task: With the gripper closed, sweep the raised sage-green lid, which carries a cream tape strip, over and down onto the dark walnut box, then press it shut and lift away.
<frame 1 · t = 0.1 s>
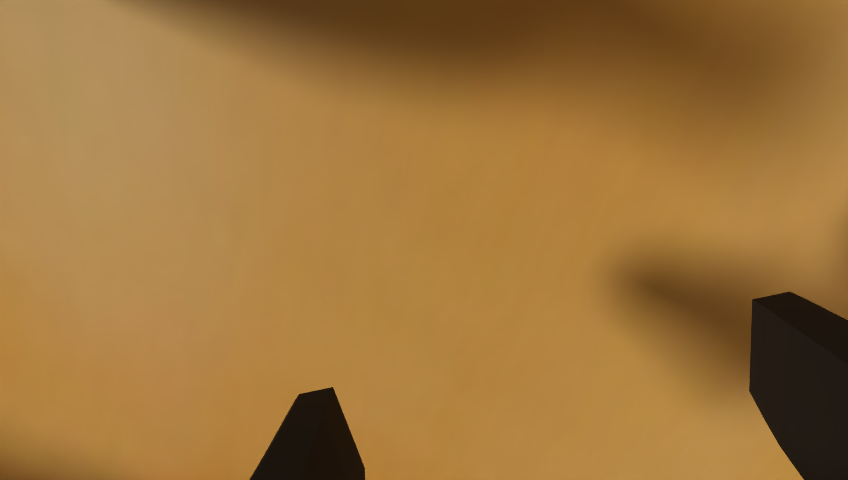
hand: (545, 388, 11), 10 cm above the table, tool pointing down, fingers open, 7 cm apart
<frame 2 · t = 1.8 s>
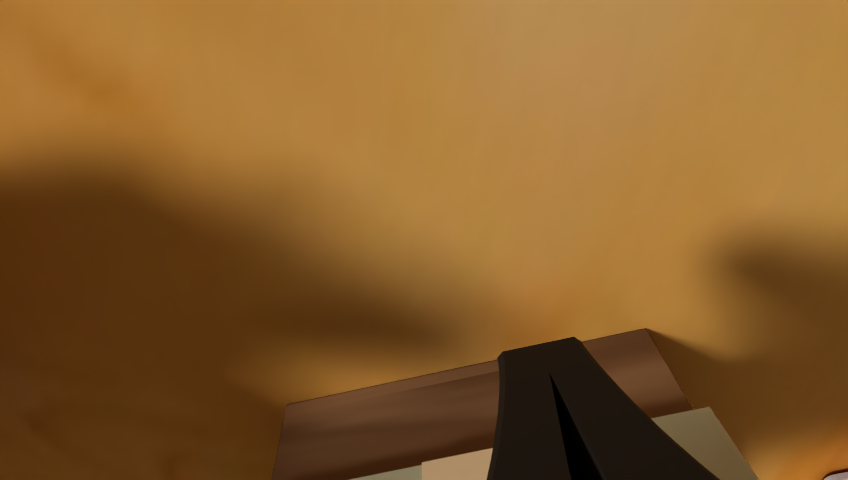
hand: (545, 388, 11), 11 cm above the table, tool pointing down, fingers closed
walnut box: (486, 457, 26), on the table
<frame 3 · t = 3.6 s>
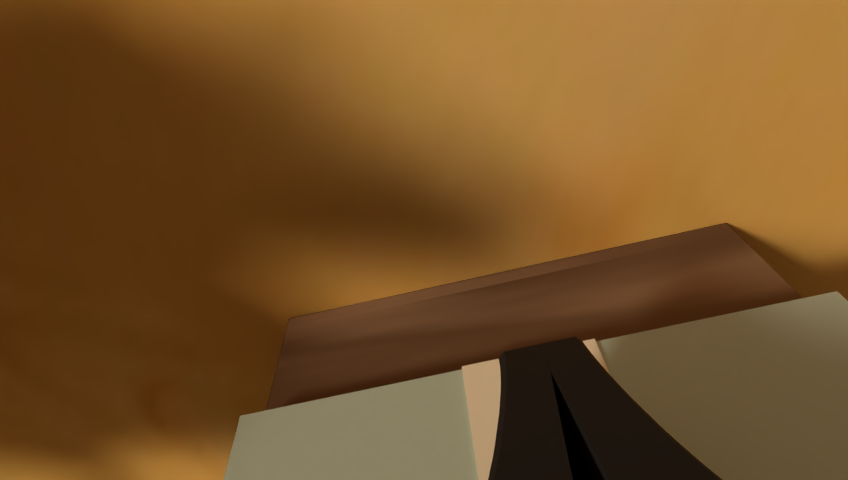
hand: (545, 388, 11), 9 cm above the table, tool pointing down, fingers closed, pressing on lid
walnut box: (526, 389, 22), on the table
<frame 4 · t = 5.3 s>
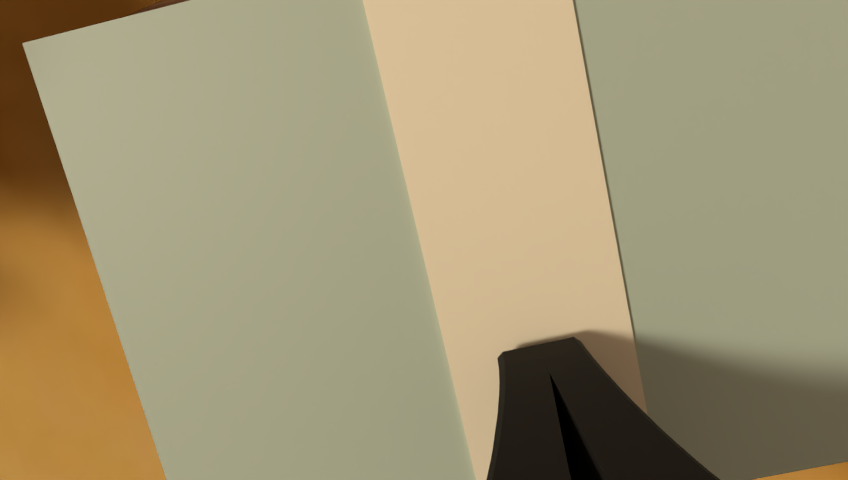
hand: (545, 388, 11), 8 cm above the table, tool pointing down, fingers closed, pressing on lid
lid: (515, 242, 11), point 7 cm above the table, hinge at 18.6°, touching gripper
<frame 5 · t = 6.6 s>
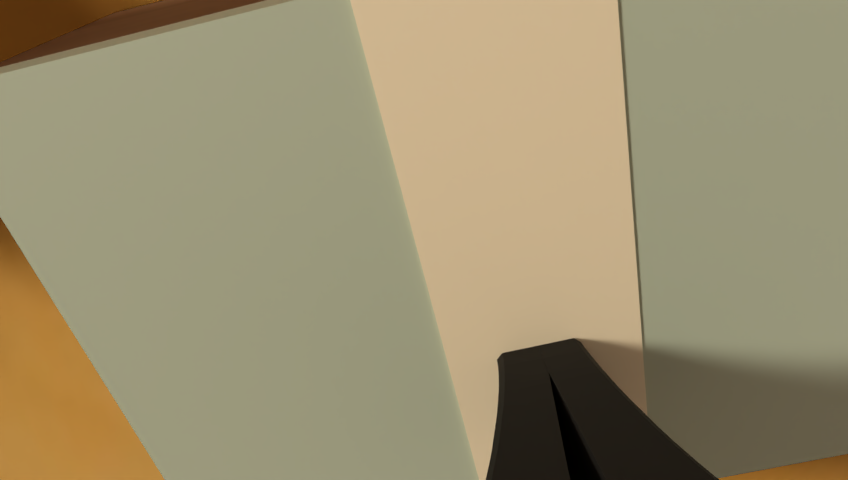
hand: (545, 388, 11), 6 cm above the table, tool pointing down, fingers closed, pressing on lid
lid: (530, 285, 10), point 5 cm above the table, hinge at -0.1°, touching gripper
walnut box: (485, 156, 15), on the table
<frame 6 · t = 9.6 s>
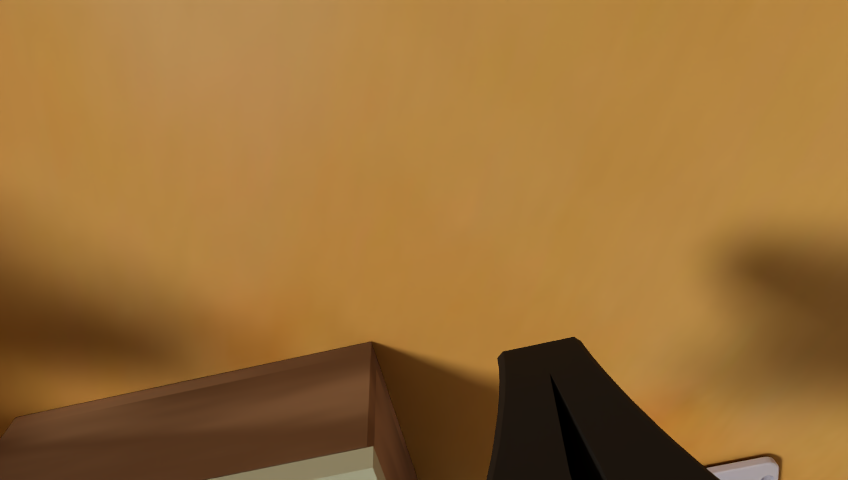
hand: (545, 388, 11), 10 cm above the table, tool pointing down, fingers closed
walnut box: (238, 470, 26), on the table
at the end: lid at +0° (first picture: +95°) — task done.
